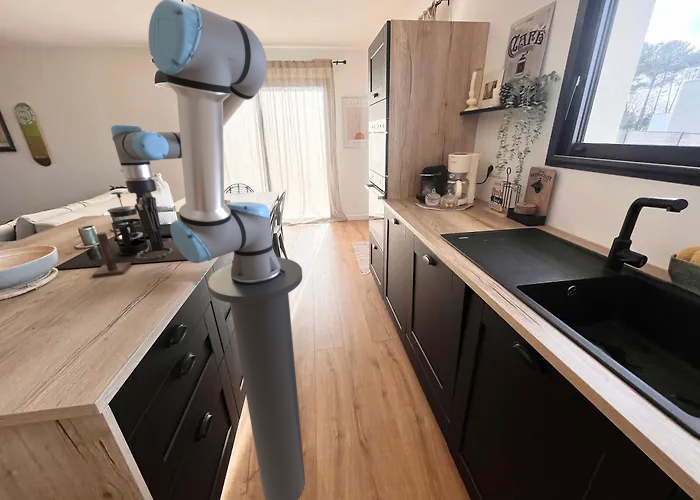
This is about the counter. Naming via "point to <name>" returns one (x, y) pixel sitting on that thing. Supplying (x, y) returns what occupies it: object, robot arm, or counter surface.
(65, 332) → the counter surface
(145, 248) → the french press
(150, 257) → the ring
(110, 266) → the holder
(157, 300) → the counter surface
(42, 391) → the counter surface
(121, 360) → the counter surface
